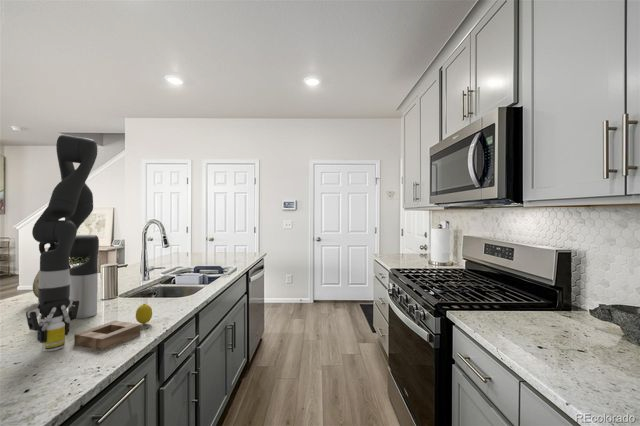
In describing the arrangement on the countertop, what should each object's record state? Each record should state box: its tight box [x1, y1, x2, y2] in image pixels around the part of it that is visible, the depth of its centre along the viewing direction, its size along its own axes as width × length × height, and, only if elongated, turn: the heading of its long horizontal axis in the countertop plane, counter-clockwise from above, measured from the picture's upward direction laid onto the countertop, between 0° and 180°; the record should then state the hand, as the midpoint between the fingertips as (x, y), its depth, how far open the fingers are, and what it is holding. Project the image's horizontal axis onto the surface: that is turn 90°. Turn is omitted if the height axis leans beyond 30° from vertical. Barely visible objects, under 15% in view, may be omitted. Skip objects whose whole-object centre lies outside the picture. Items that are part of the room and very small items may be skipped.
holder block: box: [73, 320, 142, 352], centre depth 106 cm, size 12×14×4 cm
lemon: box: [135, 303, 153, 326], centre depth 120 cm, size 6×6×8 cm
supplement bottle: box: [41, 316, 66, 352], centre depth 98 cm, size 5×5×10 cm
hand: (53, 338), depth 98 cm, fingers closed on supplement bottle, 5 cm apart
